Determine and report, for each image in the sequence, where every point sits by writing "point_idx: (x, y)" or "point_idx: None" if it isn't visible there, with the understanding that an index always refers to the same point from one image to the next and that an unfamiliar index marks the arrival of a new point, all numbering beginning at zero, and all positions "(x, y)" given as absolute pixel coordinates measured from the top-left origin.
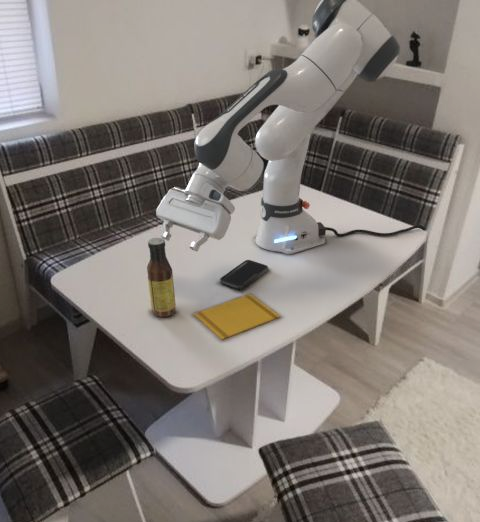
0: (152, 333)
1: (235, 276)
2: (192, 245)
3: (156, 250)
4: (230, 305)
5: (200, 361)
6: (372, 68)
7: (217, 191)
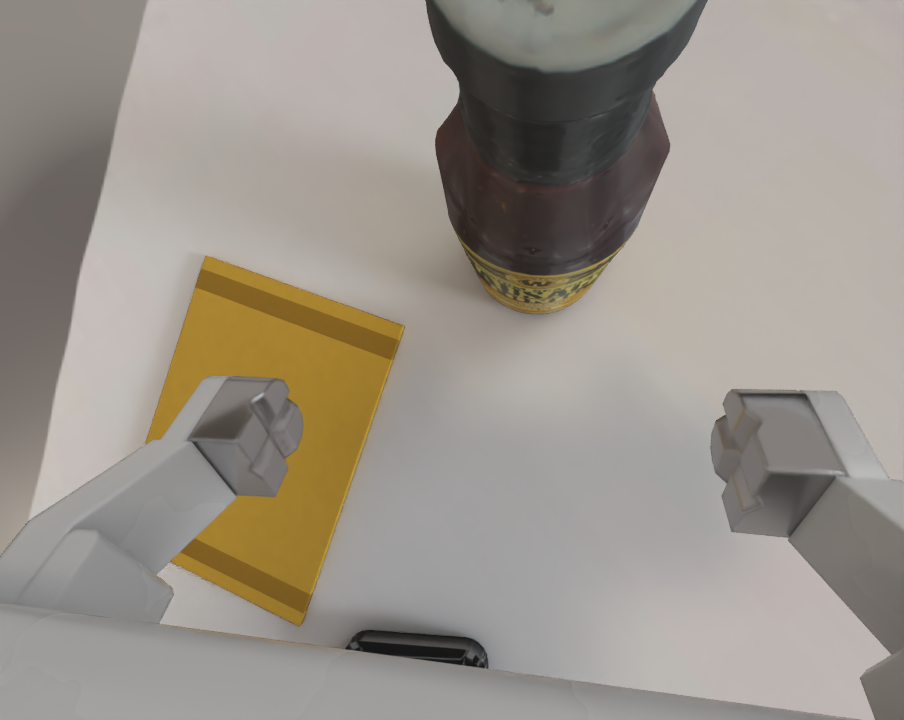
0: None
1: None
2: (229, 393)
3: None
4: (313, 484)
5: (196, 101)
6: None
7: None
